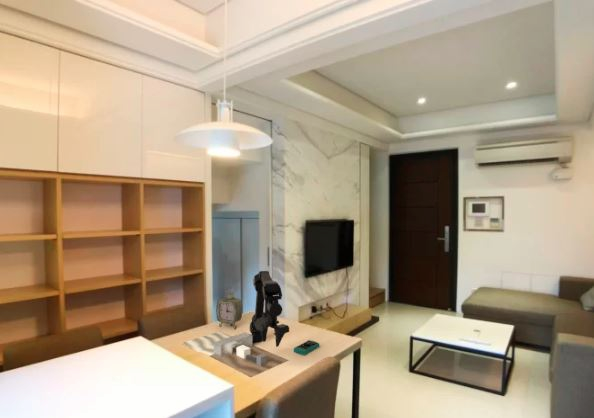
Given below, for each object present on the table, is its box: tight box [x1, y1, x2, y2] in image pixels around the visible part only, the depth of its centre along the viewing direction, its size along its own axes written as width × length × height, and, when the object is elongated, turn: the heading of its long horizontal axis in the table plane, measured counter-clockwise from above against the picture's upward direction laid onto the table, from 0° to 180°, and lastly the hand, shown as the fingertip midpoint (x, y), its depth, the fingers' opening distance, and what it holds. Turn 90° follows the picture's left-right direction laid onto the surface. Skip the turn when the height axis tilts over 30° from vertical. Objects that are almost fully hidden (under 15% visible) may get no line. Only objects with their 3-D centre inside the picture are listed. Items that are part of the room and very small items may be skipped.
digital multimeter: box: [293, 339, 320, 356], centre depth 186 cm, size 7×15×3 cm, turn 144°
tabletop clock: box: [215, 286, 243, 330], centre depth 220 cm, size 14×9×25 cm, turn 68°
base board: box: [182, 331, 290, 378], centre depth 180 cm, size 24×57×1 cm, turn 48°
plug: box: [236, 345, 267, 366], centre depth 171 cm, size 4×19×4 cm, turn 48°
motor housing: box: [214, 332, 253, 359], centre depth 180 cm, size 20×6×6 cm, turn 138°
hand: (270, 344), depth 161 cm, fingers open, 8 cm apart
